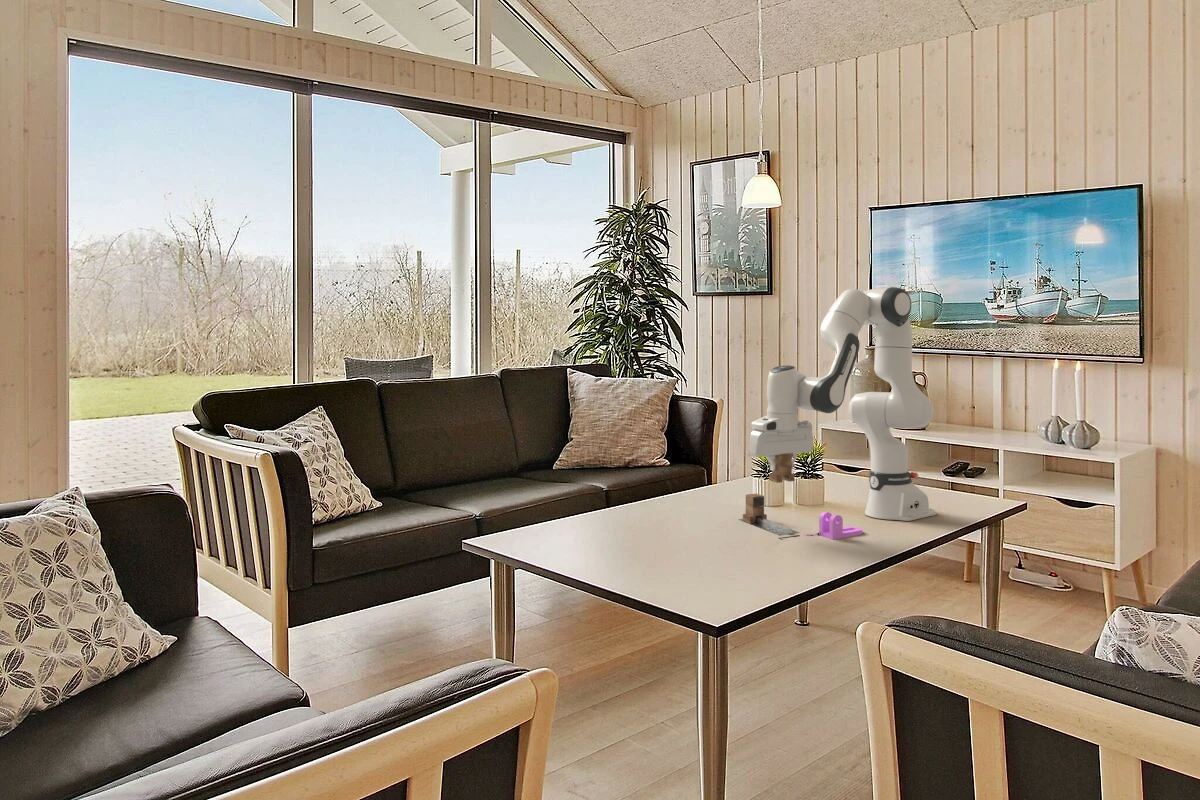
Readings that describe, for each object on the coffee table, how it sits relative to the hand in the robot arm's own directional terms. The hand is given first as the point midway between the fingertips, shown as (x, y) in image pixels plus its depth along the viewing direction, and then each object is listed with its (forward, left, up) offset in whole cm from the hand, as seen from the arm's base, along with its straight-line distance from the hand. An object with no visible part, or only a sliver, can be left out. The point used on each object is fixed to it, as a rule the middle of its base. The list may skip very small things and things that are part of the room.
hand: (781, 469), depth 258 cm
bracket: (-16, +8, -20) cm, 26 cm away
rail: (0, -7, -19) cm, 20 cm away
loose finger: (0, 0, -3) cm, 3 cm away
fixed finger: (0, -14, -18) cm, 23 cm away
